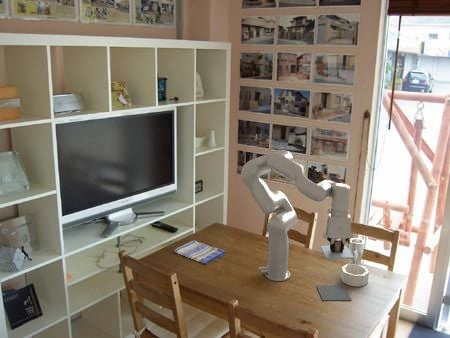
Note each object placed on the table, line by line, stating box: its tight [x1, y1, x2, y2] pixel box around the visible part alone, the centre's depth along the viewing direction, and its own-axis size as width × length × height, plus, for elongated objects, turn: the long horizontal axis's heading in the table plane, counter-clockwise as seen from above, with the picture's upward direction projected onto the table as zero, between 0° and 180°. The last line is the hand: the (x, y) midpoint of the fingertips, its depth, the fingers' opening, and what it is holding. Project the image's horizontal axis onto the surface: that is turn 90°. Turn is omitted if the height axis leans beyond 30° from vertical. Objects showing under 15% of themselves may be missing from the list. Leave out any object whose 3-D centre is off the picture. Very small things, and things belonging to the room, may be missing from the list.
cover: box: [319, 239, 354, 260], centre depth 206 cm, size 12×12×6 cm
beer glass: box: [348, 237, 365, 266], centre depth 233 cm, size 7×7×15 cm
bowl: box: [340, 263, 370, 288], centre depth 222 cm, size 12×12×6 cm
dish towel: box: [173, 239, 226, 265], centre depth 251 cm, size 17×24×3 cm
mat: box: [316, 284, 353, 302], centre depth 212 cm, size 13×13×1 cm
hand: (336, 250), depth 206 cm, fingers closed on cover, 3 cm apart
